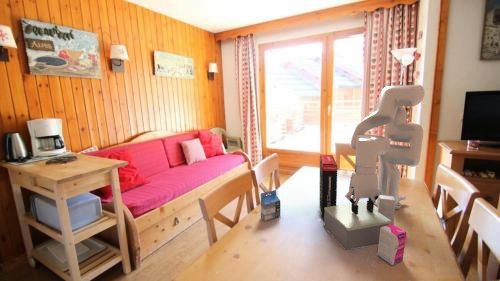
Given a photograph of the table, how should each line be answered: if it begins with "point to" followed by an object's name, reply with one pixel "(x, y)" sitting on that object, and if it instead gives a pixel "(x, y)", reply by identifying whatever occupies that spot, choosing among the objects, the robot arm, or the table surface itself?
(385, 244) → the supplement box
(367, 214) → the box lid
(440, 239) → the table surface
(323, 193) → the graphics card box
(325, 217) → the storage box
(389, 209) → the skincare box
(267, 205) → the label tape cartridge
